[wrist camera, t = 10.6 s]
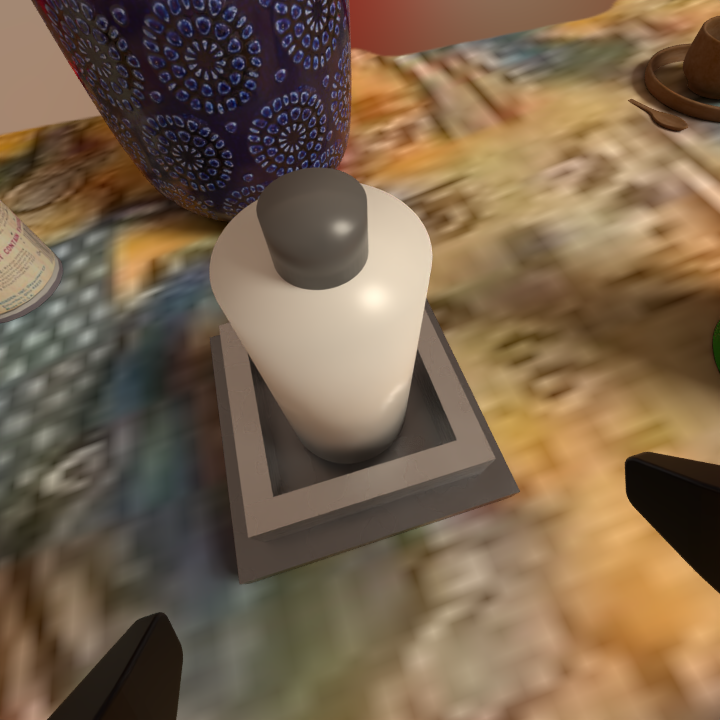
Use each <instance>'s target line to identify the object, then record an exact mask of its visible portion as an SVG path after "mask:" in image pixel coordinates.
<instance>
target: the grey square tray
mask: <svg viewBox="0 0 720 720" xmlns="http://www.w3.org/2000/svg"><path fill="white" fill-rule="evenodd" d="M219 330H220V335H218V336H214V337H210V344H211V352H212V361H213V369H214V377H215V385H216V394H217V402H218V410H219V418H220V427H221V435H222V443H223V451H224V460H225V468H226V476H227V484H228V492H229V501H230V509H231V517H232V525H233V534H234V542H235V550H236V558H237V567H238V575H239V583H240V584H250V583H253V582H256V581H259V580H262V579H265V578H268V577H271V576H274V575H277V574H280V573H283V572H286V571H289V570H293V569H296V568H299V567H302V566H305V565H308V564H311V563H314V562H317V561H320V560H323V559H326V558H329V557H332V556H335V555H338V554H341V553H344V552H347V551H350V550H353V549H356V548H359V547H362V546H365V545H368V544H371V543H374V542H377V541H380V540H383V539H386V538H389V537H392V536H395V535H398V534H401V533H404V532H407V531H410V530H413V529H416V528H419V527H422V526H425V525H428V524H431V523H434V522H437V521H440V520H443V519H446V518H449V517H452V516H455V515H458V514H461V513H464V512H467V511H470V510H473V509H476V508H479V507H482V506H485V505H488V504H491V503H494V502H497V501H500V500H503V499H506V498H509V497H512V496H513V495H515V494H517V493H519V492H520V491H519V488H518V486H517V484H516V482H515V480H514V478H513V476H512V474H511V472H510V470H509V468H508V466H507V464H506V462H505V460H504V458H503V455H502V453H501V451H500V449H499V447H498V445H497V443H496V441H495V439H494V437H493V435H492V433H491V431H490V429H489V427H488V424H487V422H486V420H485V418H484V416H483V414H482V412H481V410H480V408H479V406H478V404H477V402H476V400H475V398H474V396H473V393H472V391H471V389H470V387H469V385H468V383H467V381H466V379H465V377H464V375H463V373H462V371H461V369H460V367H459V365H458V362H457V360H456V358H455V356H454V354H453V352H452V350H451V348H450V346H449V344H448V342H447V340H446V338H445V336H444V334H443V332H442V329H441V327H440V325H439V323H438V321H437V319H436V317H435V315H434V313H433V311H432V309H431V307H430V305H429V303H428V301H427V298H426V301H425V307H424V312H423V318H422V324H421V329H420V335H419V341H418V346H417V352H416V358H415V363H414V369H413V375H412V380H411V386H410V392H409V397H408V403H407V409H406V414H405V419H404V423H403V426H402V428H401V431H400V433H399V434H398V436H397V438H396V439H395V440H394V442H393V443H392V444H391V445H390V446H389V447H388V448H387V449H386V450H384V451H383V452H382V453H380V454H379V455H377V456H375V457H373V458H371V459H369V460H366V461H362V462H358V463H351V464H342V463H335V462H331V461H327V460H324V459H322V458H320V457H318V456H316V455H315V454H313V453H312V452H311V451H309V450H308V449H307V448H306V447H305V446H304V445H303V444H302V443H301V441H300V440H299V438H298V437H297V435H296V433H295V432H294V430H293V428H292V427H291V425H290V423H289V422H288V420H287V418H286V416H285V415H284V413H283V411H282V410H281V408H280V406H279V405H278V403H277V401H276V400H275V398H274V396H273V395H272V393H271V391H270V390H269V388H268V386H267V384H266V383H265V381H264V379H263V378H262V376H261V374H260V373H259V371H258V369H257V368H256V366H255V364H254V363H253V361H252V359H251V358H250V356H249V354H248V352H247V351H246V349H245V347H244V346H243V344H242V342H241V341H240V339H239V337H238V336H237V334H236V332H235V331H234V329H233V327H232V326H231V324H230V323H226V324H222V325H219Z"/></svg>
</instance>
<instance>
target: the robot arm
mask: <svg viewBox="0 0 720 720" xmlns="http://www.w3.org/2000/svg"><path fill="white" fill-rule="evenodd" d="M625 481H626V494H627V497H628V499H629V501H630V503H631V504H632V505H633V506H634V508H635V509H636V510H637V511H638V512H639V513H640V514H641V515H642V516H643V517H644V518H645V519H646V520H647V521H648V522H649V523H650V524H651V525H652V526H653V527H654V529H655V530H656V531H657V532H658V533H659V534H660V535H661V536H662V537H663V538H664V539H665V540H666V541H667V542H668V543H669V544H670V545H671V546H672V547H673V548H674V549H675V550H676V552H677V553H678V554H679V555H680V556H681V557H682V558H683V559H684V560H685V561H686V562H687V563H688V564H689V565H690V566H691V567H692V568H693V569H694V570H695V571H696V572H697V573H698V574H699V575H700V576H701V577H702V578H703V579H704V580H705V581H706V582H708V583H709V584H710V585H711V586H712V587H713V588H714V589H715V590H716V591H717V592H718V593H720V465H716V464H710V463H705V462H700V461H695V460H689V459H684V458H679V457H674V456H668V455H663V454H658V453H653V452H643V453H640V454H637V455H634V456H631V457H629V458H627V459H626V462H625ZM182 664H183V651H182V647H181V644H180V642H179V640H178V637H177V635H176V633H175V631H174V629H173V627H172V625H171V623H170V621H169V619H168V617H167V616H166V615H165V614H164V613H162V612H159V613H155V614H152V615H149V616H146V617H143V618H141V619H139V620H137V621H136V622H135V623H134V624H133V625H132V626H131V627H130V628H129V629H128V630H127V631H126V633H125V634H124V635H123V636H122V637H121V638H120V639H119V640H118V641H117V643H116V644H115V645H114V646H113V647H112V648H111V649H110V650H109V651H108V653H107V654H106V655H105V656H104V657H103V658H102V659H101V660H100V661H99V663H98V664H97V665H96V666H95V667H94V668H93V669H92V670H91V671H90V673H89V674H88V675H87V676H86V677H85V678H84V679H83V680H82V681H81V683H80V684H79V685H78V686H77V687H76V688H75V689H74V690H73V691H72V693H71V694H70V695H69V696H68V697H67V698H66V699H65V700H64V701H63V703H62V704H61V705H60V706H59V707H58V708H57V709H56V710H55V711H54V713H53V714H52V715H51V716H50V717H49V718H48V719H47V720H176V717H177V708H178V699H179V691H180V682H181V673H182Z"/></svg>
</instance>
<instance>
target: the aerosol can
mask: <svg viewBox="0 0 720 720" xmlns="http://www.w3.org/2000/svg"><path fill="white" fill-rule="evenodd" d="M62 274H63V267H62V262H61V260H60V259H59V258H58V257H57V256H56V254H55V253H54V252H53V251H51V250H50V249H49V248H48V247H47V246H46V245H45V244H44V243H43V242H42V241H41V240H40V239H39V238H38V237H37V236H36V235H35V234H34V233H33V232H32V231H31V230H30V229H29V228H28V227H27V226H26V225H25V224H24V223H23V222H22V221H21V220H20V219H19V218H18V217H17V216H16V215H15V214H14V213H13V212H12V211H11V210H10V209H9V208H8V207H7V206H6V205H5V204H4V203H3V202H2V201H1V200H0V323H3V322H8V321H11V320H14V319H16V318H19V317H22V316H24V315H26V314H27V313H29V312H31V311H32V310H34V309H36V308H37V307H39V306H40V305H41V304H42V303H44V302H45V301H46V300H47V299H48V298H49V297H50V296H51V295H52V294H53V293H54V291H55V290H56V288H57V287H58V285H59V284H60V281H61V278H62Z"/></svg>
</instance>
